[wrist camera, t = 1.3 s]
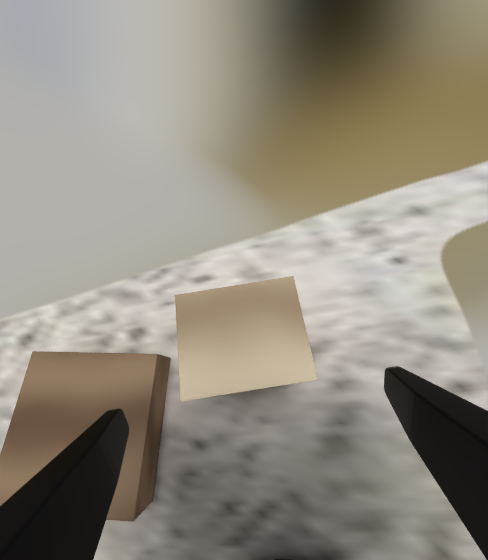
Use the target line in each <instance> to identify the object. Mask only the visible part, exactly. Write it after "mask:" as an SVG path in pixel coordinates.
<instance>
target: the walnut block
mask: <svg viewBox="0 0 488 560" xmlns="http://www.w3.org/2000/svg"><path fill="white" fill-rule="evenodd" d="M169 366H170V358H168V357H165V356H162V355H158V354H127V353H79V352H32V355H31V358H30V362H29V365H28V368H27V371H26V374H25V378H24V381H23V384H22V387H21V391H20V394H19V397H18V400H17V403H16V407H15V410H14V413H13V416H12V419H11V423H10V426H9V429H8V432H7V435H6V439H5V442H4V445H3V448H2V451H1V455H0V506H1V505H2V504H3V503H4V502H5V501H6V500H7V499H9V498H10V497H11V496H12V495H13V494H14V493H15V492H16V491H18V490H19V489H20V488H21V487H22V486H23V485H24V484H25V483H27V482H28V481H29V480H30V479H31V478H32V477H33V476H34V475H36V474H37V473H38V472H39V471H40V470H41V469H42V468H43V467H45V466H46V465H47V464H48V463H49V462H50V461H51V460H52V459H54V458H55V457H56V456H57V455H58V454H59V453H60V452H61V451H63V450H64V449H65V448H66V447H67V446H68V445H69V444H70V443H72V442H73V441H74V440H75V439H76V438H77V437H78V436H79V435H80V434H82V433H83V432H84V431H85V430H86V429H87V428H88V427H89V426H91V425H92V424H93V423H94V422H95V421H96V420H97V419H98V418H100V417H101V416H102V415H103V414H104V413H105V412H106V411H108V410H110V409H116V408H121V409H122V410H123V412H124V414H125V417H126V419H127V422H128V424H129V436H128V440H127V445H126V449H125V453H124V458H123V462H122V467H121V471H120V476H119V480H118V483H117V487H116V490H115V493H114V496H113V499H112V503H111V506H110V509H109V512H108V515H107V518H106V520H121V521H134V520H135V519H136V518H137V517H138V516H139V515H140V514H141V513H142V512H143V511H144V510H145V509H146V508H147V506H148V505H149V504H150V503H151V502H152V501H153V494H154V486H155V478H156V470H157V462H158V454H159V446H160V438H161V430H162V422H163V414H164V406H165V398H166V390H167V382H168V374H169Z"/></svg>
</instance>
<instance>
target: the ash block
mask: <svg viewBox="0 0 488 560" xmlns="http://www.w3.org/2000/svg"><path fill="white" fill-rule="evenodd" d="M175 302H176V321H177V341H178V361H179V380H180V400H181V401H187V400H193V399H199V398H206V397H212V396H218V395H225V394H231V393H237V392H243V391H250V390H256V389H262V388H268V387H275V386H281V385H287V384H294V383H300V382H306V381H312V380H318V379H317V374H316V370H315V366H314V362H313V358H312V353H311V349H310V345H309V341H308V336H307V332H306V328H305V324H304V320H303V315H302V311H301V307H300V303H299V299H298V294H297V290H296V286H295V282H294V277H293V276H291V277H285V278H279V279H273V280H267V281H260V282H254V283H248V284H242V285H235V286H229V287H223V288H217V289H211V290H204V291H198V292H192V293H186V294H179V295H175Z"/></svg>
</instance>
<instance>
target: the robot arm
mask: <svg viewBox="0 0 488 560" xmlns="http://www.w3.org/2000/svg"><path fill="white" fill-rule="evenodd" d="M384 390H385V393H386V395H387V397H388V399H389V401H390V403H391V405H392V407H393V409H394V411H395V413H396V415H397V417H398V419H399V421H400V422H401V424H402V426H403V428H404V430H405V432H406V434H407V436H408V438H409V439H410V441H411V443H412V444H413V446H414V448H415V449H416V451H417V452H418V454H419V455H420V457H421V458H422V460H423V462H424V463H425V465H426V466H427V468H428V469H429V471H430V472H431V474H432V475H433V477H434V479H435V480H436V482H437V483H438V485H439V486H440V488H441V489H442V491H443V492H444V494H445V496H446V497H447V499H448V500H449V502H450V503H451V505H452V506H453V508H454V510H455V511H456V513H457V514H458V516H459V517H460V519H461V520H462V522H463V523H464V525H465V527H466V528H467V530H468V531H469V533H470V534H471V536H472V537H473V539H474V541H475V542H476V544H477V545H478V547H479V548H480V550H481V551H482V553H483V554H484V556H485V558H486V559H487V560H488V411H487V410H485V409H483V408H481V407H479V406H477V405H475V404H473V403H471V402H469V401H467V400H465V399H463V398H461V397H459V396H457V395H455V394H453V393H451V392H449V391H447V390H445V389H443V388H441V387H439V386H437V385H435V384H433V383H431V382H429V381H427V380H425V379H423V378H421V377H419V376H417V375H415V374H413V373H411V372H409V371H407V370H405V369H403V368H401V367H398V366H395V367H389V368H386V369H385V377H384ZM128 436H129V424H128V422H127V419H126V417H125V414H124V412H123V410H122V409H121V408H116V409H110V410H108V411H106V412H105V413H104V414H103V415H102V416H101V417H100V418H98V419H97V420H96V421H95V422H94V423H93V424H92V425H91V426H89V427H88V428H87V429H86V430H85V431H84V432H83V433H82V434H80V435H79V436H78V437H77V438H76V439H75V440H74V441H73V442H72V443H70V444H69V445H68V446H67V447H66V448H65V449H64V450H63V451H61V452H60V453H59V454H58V455H57V456H56V457H55V458H54V459H52V460H51V461H50V462H49V463H48V464H47V465H46V466H45V467H43V468H42V469H41V470H40V471H39V472H38V473H37V474H36V475H34V476H33V477H32V478H31V479H30V480H29V481H28V482H27V483H25V484H24V485H23V486H22V487H21V488H20V489H19V490H18V491H16V492H15V493H14V494H13V495H12V496H11V497H10V498H9V499H7V500H6V501H5V502H4V503H3V504H2V505H1V506H0V560H93V558H94V555H95V552H96V549H97V546H98V543H99V540H100V537H101V534H102V530H103V527H104V524H105V521H106V518H107V515H108V512H109V509H110V506H111V503H112V499H113V496H114V493H115V490H116V487H117V483H118V480H119V476H120V471H121V467H122V462H123V458H124V453H125V449H126V445H127V440H128ZM275 560H289V559H275Z"/></svg>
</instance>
